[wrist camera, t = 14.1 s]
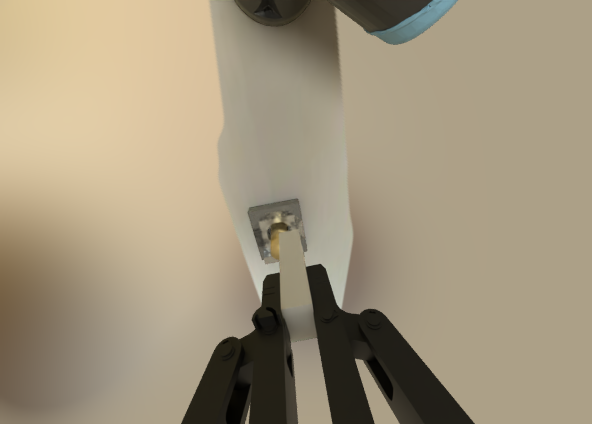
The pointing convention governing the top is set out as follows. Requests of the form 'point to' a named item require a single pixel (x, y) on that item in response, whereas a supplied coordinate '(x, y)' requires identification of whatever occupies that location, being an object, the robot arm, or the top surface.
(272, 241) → the brass rounded cylinder
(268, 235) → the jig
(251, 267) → the top surface
